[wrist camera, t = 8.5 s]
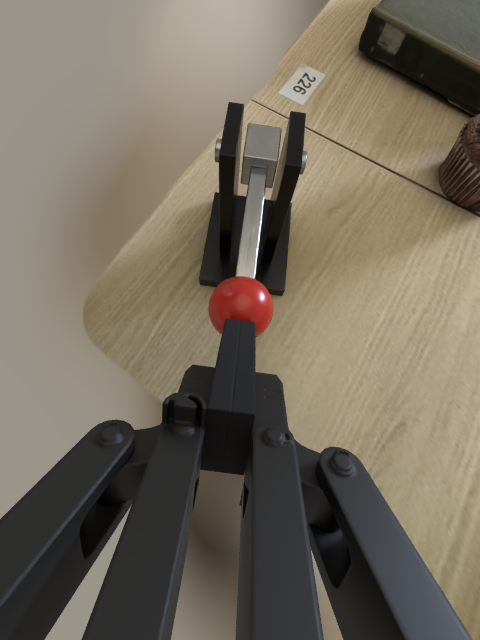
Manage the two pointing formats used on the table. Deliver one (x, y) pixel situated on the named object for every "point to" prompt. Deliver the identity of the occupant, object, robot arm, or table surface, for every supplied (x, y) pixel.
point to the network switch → (430, 45)
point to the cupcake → (463, 167)
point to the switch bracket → (231, 207)
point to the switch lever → (250, 237)
